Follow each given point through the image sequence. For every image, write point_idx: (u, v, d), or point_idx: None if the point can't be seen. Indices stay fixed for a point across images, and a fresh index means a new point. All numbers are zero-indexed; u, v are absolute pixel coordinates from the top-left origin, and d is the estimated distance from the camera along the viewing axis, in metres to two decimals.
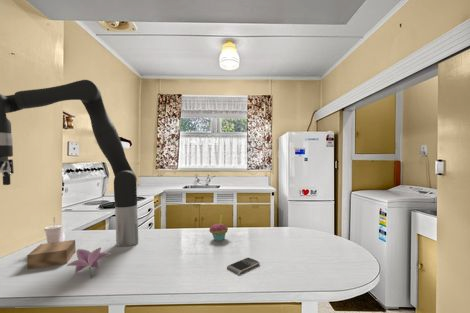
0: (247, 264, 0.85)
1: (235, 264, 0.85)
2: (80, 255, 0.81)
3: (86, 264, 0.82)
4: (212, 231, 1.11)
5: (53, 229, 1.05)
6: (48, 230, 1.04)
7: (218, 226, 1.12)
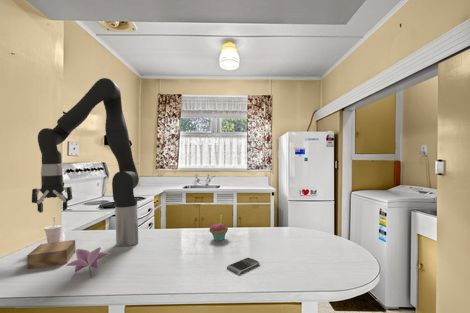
0: (247, 264, 0.85)
1: (235, 264, 0.85)
2: (80, 255, 0.81)
3: (86, 264, 0.82)
4: (212, 231, 1.11)
5: (53, 229, 1.05)
6: (48, 230, 1.04)
7: (218, 226, 1.12)
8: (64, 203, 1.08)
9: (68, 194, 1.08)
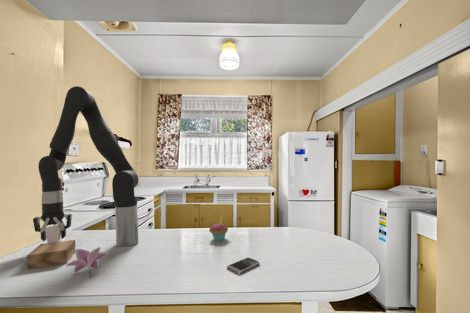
0: (247, 264, 0.85)
1: (235, 264, 0.85)
2: (79, 255, 0.81)
3: (85, 264, 0.82)
4: (212, 231, 1.11)
5: (53, 229, 1.05)
6: (48, 230, 1.04)
7: (218, 226, 1.12)
8: (62, 231, 1.08)
9: (67, 222, 1.08)
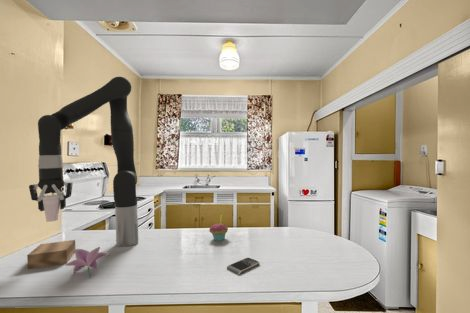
0: (247, 264, 0.85)
1: (235, 264, 0.85)
2: (79, 255, 0.81)
3: (85, 264, 0.82)
4: (212, 231, 1.11)
5: (51, 197, 0.93)
6: (46, 199, 0.93)
7: (218, 226, 1.12)
8: (62, 201, 0.96)
9: (67, 191, 0.97)
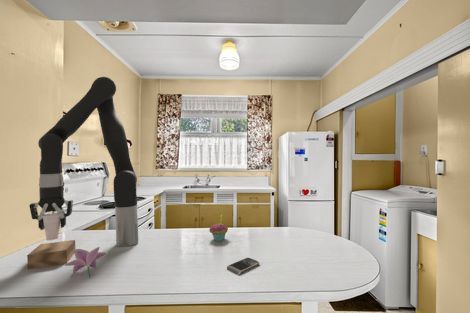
0: (247, 264, 0.85)
1: (235, 264, 0.85)
2: (78, 255, 0.81)
3: (84, 264, 0.82)
4: (212, 231, 1.11)
5: (52, 216, 0.93)
6: (46, 218, 0.93)
7: (218, 226, 1.12)
8: (62, 219, 0.96)
9: (68, 209, 0.96)
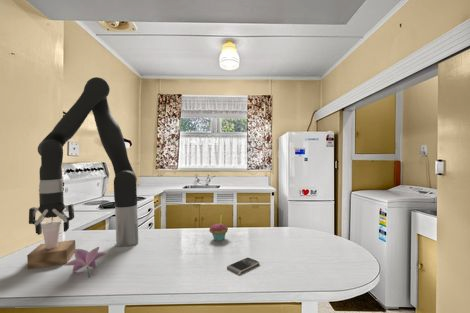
0: (247, 264, 0.85)
1: (235, 264, 0.85)
2: (78, 255, 0.81)
3: (84, 264, 0.82)
4: (212, 231, 1.11)
5: (51, 225, 0.93)
6: (45, 226, 0.92)
7: (218, 226, 1.12)
8: (65, 223, 0.96)
9: (70, 213, 0.97)
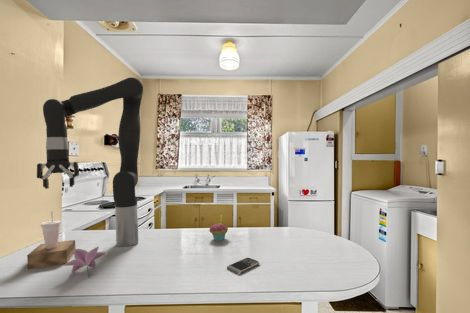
0: (247, 264, 0.85)
1: (235, 264, 0.85)
2: (77, 255, 0.81)
3: (83, 264, 0.82)
4: (212, 231, 1.11)
5: (51, 225, 0.93)
6: (45, 226, 0.92)
7: (218, 226, 1.12)
8: (71, 179, 1.03)
9: (75, 169, 1.03)
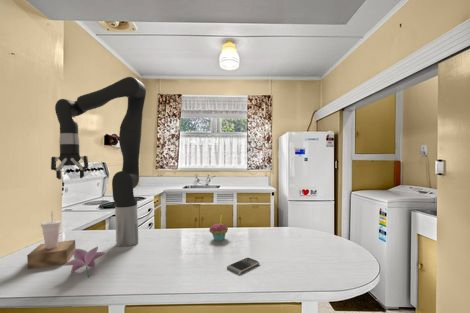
0: (247, 264, 0.85)
1: (235, 264, 0.85)
2: (77, 255, 0.81)
3: (83, 264, 0.82)
4: (212, 231, 1.11)
5: (51, 225, 0.93)
6: (46, 226, 0.92)
7: (218, 226, 1.12)
8: (81, 171, 1.14)
9: (85, 162, 1.14)
